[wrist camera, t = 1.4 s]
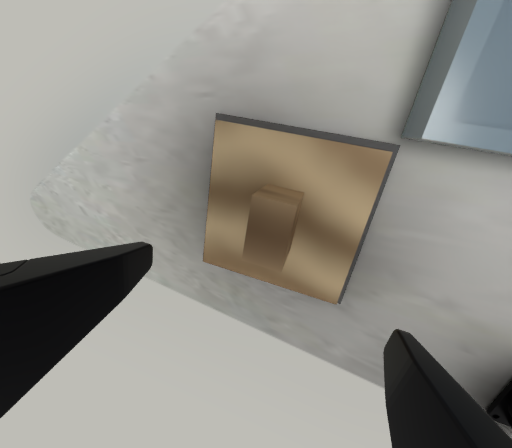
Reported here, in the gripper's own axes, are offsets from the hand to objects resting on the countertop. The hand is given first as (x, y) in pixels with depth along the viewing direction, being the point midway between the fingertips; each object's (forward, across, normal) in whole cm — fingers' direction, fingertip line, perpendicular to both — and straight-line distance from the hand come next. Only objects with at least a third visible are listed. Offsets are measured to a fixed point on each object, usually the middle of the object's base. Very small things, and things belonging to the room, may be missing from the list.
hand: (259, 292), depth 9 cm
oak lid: (+13, +1, +2) cm, 13 cm away
